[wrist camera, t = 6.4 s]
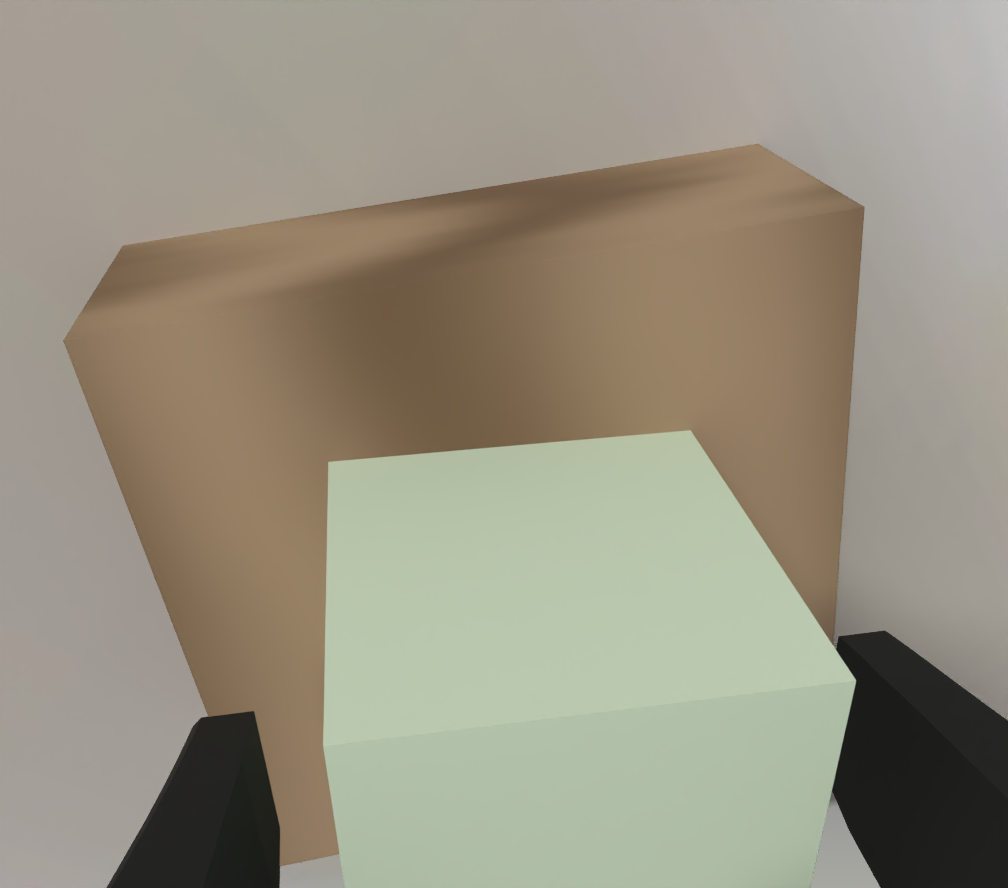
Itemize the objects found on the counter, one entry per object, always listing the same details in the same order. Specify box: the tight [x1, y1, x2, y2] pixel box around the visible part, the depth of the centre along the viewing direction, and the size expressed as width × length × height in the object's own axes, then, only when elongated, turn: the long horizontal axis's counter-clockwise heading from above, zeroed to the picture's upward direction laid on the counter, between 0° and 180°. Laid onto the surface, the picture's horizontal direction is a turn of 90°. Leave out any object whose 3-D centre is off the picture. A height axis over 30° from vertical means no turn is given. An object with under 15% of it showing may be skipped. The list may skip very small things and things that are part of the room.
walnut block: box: [63, 144, 864, 866], centre depth 16 cm, size 10×10×4 cm
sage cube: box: [323, 430, 856, 888], centre depth 12 cm, size 5×5×5 cm
